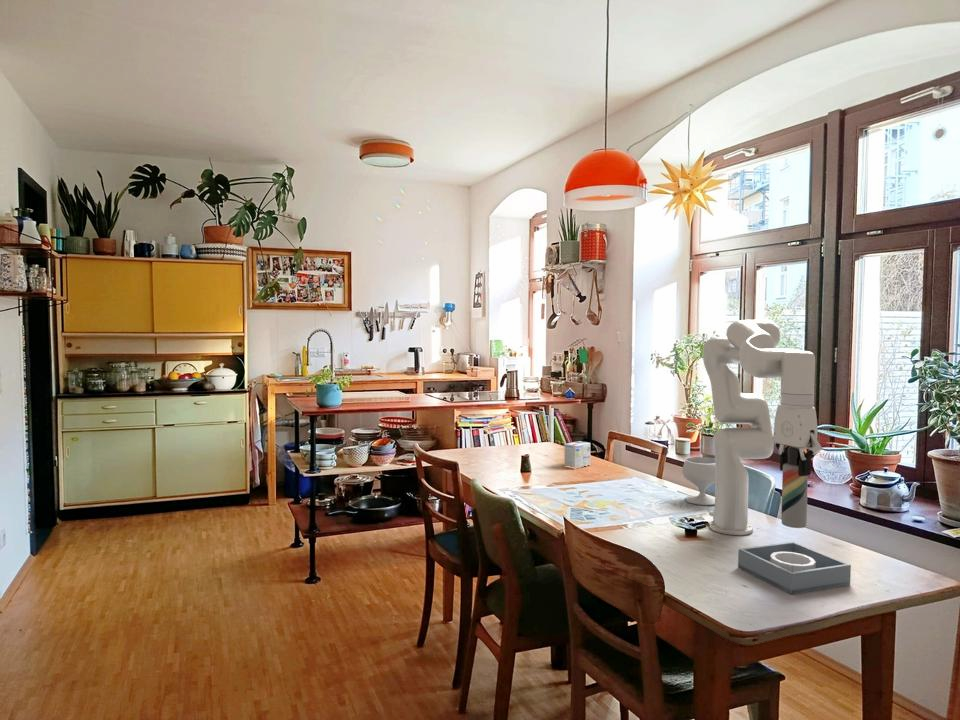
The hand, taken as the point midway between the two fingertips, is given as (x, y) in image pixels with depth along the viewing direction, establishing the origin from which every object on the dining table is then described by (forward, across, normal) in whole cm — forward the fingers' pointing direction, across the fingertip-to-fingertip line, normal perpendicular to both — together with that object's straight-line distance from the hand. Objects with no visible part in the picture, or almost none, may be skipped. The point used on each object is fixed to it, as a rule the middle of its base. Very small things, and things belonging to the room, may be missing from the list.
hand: (795, 472), depth 162 cm
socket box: (+27, 0, 0) cm, 27 cm away
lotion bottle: (+14, 0, 0) cm, 14 cm away
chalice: (+27, -66, +23) cm, 75 cm away
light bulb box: (+27, -132, +7) cm, 135 cm away
